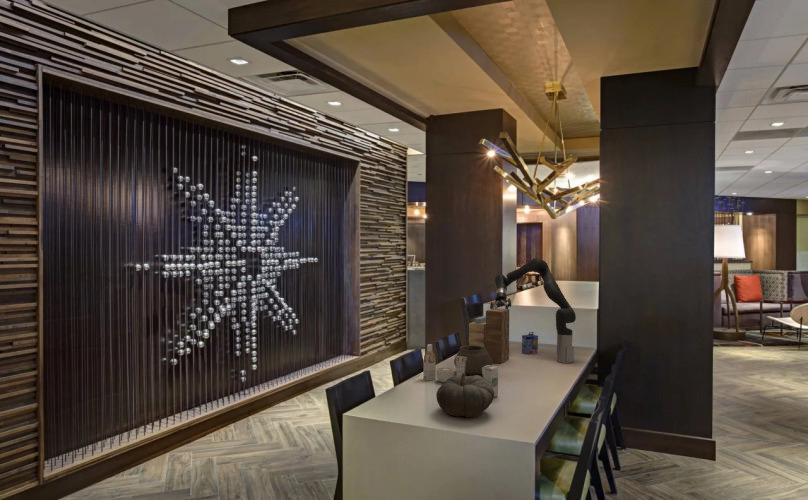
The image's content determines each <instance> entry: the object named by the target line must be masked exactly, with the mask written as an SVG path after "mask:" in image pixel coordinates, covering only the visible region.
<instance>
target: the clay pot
mask: <svg viewBox="0 0 808 500" xmlns="http://www.w3.org/2000/svg"><path fill="white" fill-rule="evenodd" d="M455 356H463V357H467V359H466V367H465V375H469V376H475V375H479V376H480V375H482V367H484V366H487V365H493V363H492V359H491V356H490V355H489V353H488V352H487V350H486V348H485V347H482V346H477V345H469V344H468V345H462V346H460V347H459V351H457V353H456V355H455ZM453 364H454V366H455V367H456V359H455V358H454V360H453Z"/></svg>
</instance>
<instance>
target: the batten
mask: <svg viewBox="0 0 808 500" xmlns="http://www.w3.org/2000/svg"><path fill="white" fill-rule="evenodd" d="M474 322H475V323H476V324H481V323H484V322H486V314H485V315H482V316H479V317H475V318H474Z"/></svg>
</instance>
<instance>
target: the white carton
mask: <svg viewBox="0 0 808 500" xmlns="http://www.w3.org/2000/svg"><path fill="white" fill-rule="evenodd" d="M481 377H482V378H483V379H485V380H486V381H487V382H489V383H490V384H491V386H492V388H493V390H494V398H496V396H497V397H498V394H499V393H498V392H499V367H498V366H496V365H493V364H492V365H487V366H484V367H482V374H481Z"/></svg>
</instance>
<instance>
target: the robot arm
mask: <svg viewBox="0 0 808 500" xmlns="http://www.w3.org/2000/svg"><path fill="white" fill-rule="evenodd" d="M530 272H535V273H538V275H540V277H541V279H542V283H543V289H544V292H545V294H546V296H547V298H548V299H549V300H551V301H552V302H553V303H554V304H555V305H557V306H558V307H559V308H558V309H557V310H556V313H555V327H556V328H555V329H556V362H558V363H563V364H571V363H574V361H575V359H574V357H575V356H574V353H575V351H574V346H573V329H571V328H568V327H567V324H572V323H575V321H576V318H577V316H576V312H575V310H574V309H573V307H572V306H571V304H570V303H569V302H568V300H567V299H566V297H565V295H564V294H563V292H562V290H561V288H560V286H559V284H558V283H557V281H556V279H555V277H554V276H553V274H552V272H551V269H550V267H549V265H548V263H547V262H546V261H545V260H543V259H541V258H538V257H535V258H533V259H530V260H529V261H528V262H526V263H525V264H523V265H521V267H517V269H515V270H512V271H510V272H507V273H506V276H505V275H504V274H502V273H499V274H497V275H495V278H494V279H495V280H494V281H495V286H496V292H495V301H494V302H492V301H491V302H490V305H489V308H490V309H493V308H501V307H505V308H504V309H509V308H510V307H512V300H511V297H510V298H507V297H508V293H507V291H508V287H509V286H510V285H511V284H512V283H514V282H516V281H518V280H520V279H522V278H523V277H524V276H525V275H526V274H527V273H530ZM490 309H489V310H490Z"/></svg>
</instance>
